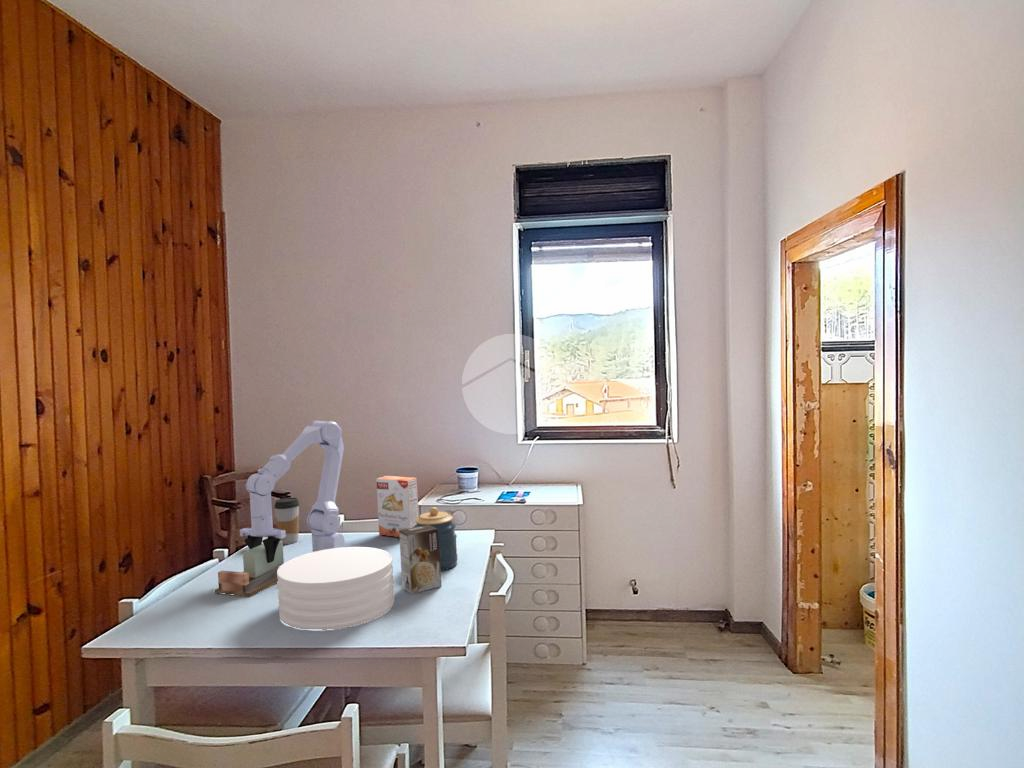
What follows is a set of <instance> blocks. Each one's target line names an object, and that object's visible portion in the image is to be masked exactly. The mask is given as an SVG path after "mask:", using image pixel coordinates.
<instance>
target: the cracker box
mask: <svg viewBox="0 0 1024 768" xmlns="http://www.w3.org/2000/svg"><path fill="white" fill-rule="evenodd" d="M418 493H419V492H418V478H417V477H411V476H410V477H408V476H407V477H406V476H397V475H396V476H394V475H384V476H380V477H378V478H376V496H377V498H376V499H377V517H378V534H379V535H378V536H382V535H388V536H387V537H389V536H396V537H395V538H397V537H399V530H404V529H409V528H413V527H414V526H415V525H416V524H417V523H416V522H415V519H416V518H418V517H419V516H420V515H419V500H418V499H419V497H418V496H419V495H418Z"/></svg>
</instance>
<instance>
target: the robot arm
mask: <svg viewBox="0 0 1024 768" xmlns="http://www.w3.org/2000/svg"><path fill="white" fill-rule="evenodd" d="M342 434H343V429H342V428H341V426H339V424H338V423H337V422H335V421H332V420H330V421H322V420H317V419H316V420H312V421H311V422H310V423H309V424H308V425H307V426H305V427H304V428H303V431H302V432H301V433H300V434H299V436H297V438H295V440H294V441H293V442H292V443H291V444H290V445H289V446H288V447H287V448H286V449H285V450H284V452H283V453H282V454H275V455H271V456H270V457H269V459H268V460H269V461H268V462H266V464H265V465H264V466H263V467H261V468H259V469H258V470H257V473H253V474H251V475H250V476H249V477H248V478H247V481H246V484H244V486H245V489H246V491H247V492H248V493H249V505H250V507H249V509H250V522H251V524H250V525H251V528H250V527H244V528H242V529H239V537H246V538H245V539H244V543H245V545H247V547H248V550H250V549H252V548H255V547H257V546H259V545H262V544H264V547H265V550H266V559H267V563H270V562H273V561H274V557H275V552H276V549H277V546H278V544H279V542H280V540H281V539H282V538H284V537H286V533H285V530H279V529H277V528H274V527H273V506H272V492H273V491H274V489H275V485H276V483H277V482H278V481H279V480H280V478H282V477H283V476H284V475H285V474H286V473H287V472H288V470H290V469H291V465H292V461H293V460H294V459H295V458H297V457H298V456H299V455H300V454H301V453H302V452H303V451H305V450H306V449H307V448H308V447H309V446H310V445H315V444H319V446H320V447H321V448H322V449H323V450H324V453H325V454H324V458H323V464H322V470H321V478H320V482H319V487H318V494H317V500H316V501H315V502H314V503H313V505H311V509H310V512H309V513H308V515H307V517H306V525H307V526H308V528H309V529H310V532H311V543H312V545H311V546H312V552H316V551H320V550H326V549H332V548H341V547H346V543H345V542H346V541H345V536H344V535H343V534H342V533H339V532H337V530H338V528H339V527H340V517H339V511H340V509H339V507H338V506H337V505H336V500H337V493H338V488H339V487H338V485H339V479H340V474H341V469H342V462H343V455H344V451H345V446H344V442H343V441H344V440H343V437H342ZM264 538H265V539H264Z"/></svg>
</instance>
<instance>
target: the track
mask: <svg viewBox="0 0 1024 768" xmlns="http://www.w3.org/2000/svg"><path fill="white" fill-rule="evenodd" d="M279 567H280V566H279ZM279 567H277V568H275V569H273V570H271V571H269V572H267V573H265V574H263V575H261V576H259V577H257V578H251V577H249V573H246V572H244V570H243V571H233V570H220V571H218V572H217V579H218V580H217V582H218V583H217V584H218V588H216V589H214V594H215V593H225V594H234V595H233V596H236V595H244V596H243V597H246V596H251V597H253V596H255V595H256V593H257V594H259V593H261V592H262V590H263V591H264V589H265V590H266V589H268V588H270V587H272V586H274V585H276V584H278V583H277V582H278V578H277V570H278V568H279ZM260 591H261V592H260ZM258 592H259V593H258ZM225 594H224V595H225ZM254 594H255V595H254ZM252 595H253V596H252Z"/></svg>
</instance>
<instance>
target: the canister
mask: <svg viewBox="0 0 1024 768" xmlns="http://www.w3.org/2000/svg"><path fill="white" fill-rule="evenodd" d="M428 511H429V512H424V513H421V514H420V515H419V517H418V518H416V519H415V522H416V523H417V524H416V525H415V526H414V527H419V526H424V525H430V526H433V527H435V528H437V529H438V535H439V552H440V568H441V572H442V571H446V570H450V569H453V568H454V567H456V565H457V564H458V553H457V550H458V549H457V538H458V537H457V534H456V532H455V529H456V528H457V524H456V522H454V521H453V519H454V516H452V515H451V514H450V513H448V512H446V511H439V509H438V507H435V506H432V507H431V508H429V510H428ZM414 527H413V528H414Z"/></svg>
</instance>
